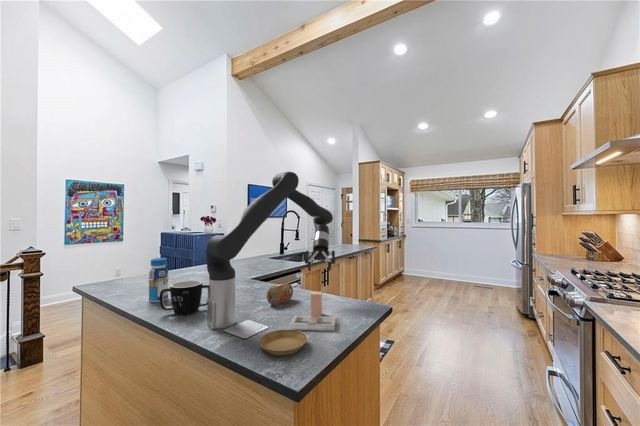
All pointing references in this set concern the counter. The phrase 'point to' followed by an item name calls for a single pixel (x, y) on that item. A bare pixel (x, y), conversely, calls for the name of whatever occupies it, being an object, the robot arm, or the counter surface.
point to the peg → (316, 304)
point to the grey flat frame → (312, 323)
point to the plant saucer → (283, 342)
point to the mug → (184, 297)
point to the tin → (279, 294)
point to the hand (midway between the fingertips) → (319, 270)
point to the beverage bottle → (158, 279)
